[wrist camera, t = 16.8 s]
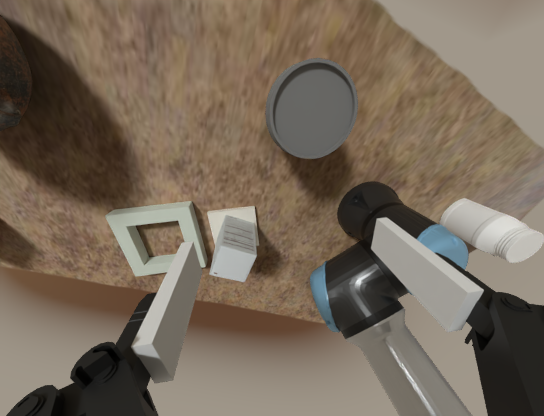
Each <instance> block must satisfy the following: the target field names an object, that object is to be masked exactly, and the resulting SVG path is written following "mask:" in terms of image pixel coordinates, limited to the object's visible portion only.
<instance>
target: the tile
mask: <svg viewBox="0 0 544 416" xmlns="http://www.w3.org/2000/svg"><path fill="white" fill-rule="evenodd" d="M207 214H208V218H209V222H210V226H211V230H212V235H213V239H214V243H215V246H216V242H217V237H218V234H219V231H220V228H221V226H222V223H223V220H224V218H225V215H229V216H233V217H236V218H239V219H243V220H246V221H249V222H252V223H254V227H255V238H256V246H259V239H258V231H257V223H256V214H255V206H249V207H241V208H232V209H223V210H214V211H208V213H207Z"/></svg>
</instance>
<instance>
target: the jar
mask: <svg viewBox="0 0 544 416" xmlns="http://www.w3.org/2000/svg"><path fill="white" fill-rule="evenodd" d="M440 225H442V226H444V227H445V228H446V229H447V230H448V231H450V232H451V233H453V234H454V235H456V236H457V237H459V238H461V239H463V240H464V241H466V242H468V243H469V244H471V245H472V246H474V247H476V248H477V249H479V250H481V251H484V252H487V253H490V254H492V255H493V256H499V257H501V258H503V259H505V260H506V261H508V262H511V263H516V262H520V261H523V260H525V259H527V258H529V257H531V256H532V255H533V254H535V253H536V252H537V251H538V250H539V249H540V247H541V246H542V244H543V242H544V235H543V234H542V233H540V232H538V231H535V230H533V229H530V228H528V226H527V224H525V223H523V222H520V221H518V220H517V219H516V218H513V217H511V216H509V215H506V214H504V213H500V212H498V211H495V210H493V209H490V208H488V207H485V206H483V205H480V204H478V203H475V202H473V201H470V200H468V199H466V198H463V199H460V200H458V201H456V202H454V203H453V204H452V205H450V206H449V207H448V208H447V209H446V210H445V212H444V213H443V215H442V217H441V219H440Z"/></svg>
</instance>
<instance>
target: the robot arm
mask: <svg viewBox="0 0 544 416" xmlns="http://www.w3.org/2000/svg"><path fill="white" fill-rule="evenodd" d="M337 216H338V221H339V224H340V225H341V227H342V228H343V229H344V230H345V231H346V232H347V233H348V234H349V235H351V236H353V237H355V238H357V239H359V240H361V241H359V242H358V243H356V244H355V245H353V246H351V247H350V248H348V249H346V250H345V251H343V252H342V253H340V254H338V255H337V256H335V257H334V258H332V259H330V260H329V261H325V262H324V264H323V265H321V266H320V267H318V268H317V269H315V270H314V271H313V272H312V274H311V277H310V285H311V290H312V294H313V297H314V300H315V303H316V305H317V308H318V310H319V312H320V314H321V316H322V318H323V320H325V322H326V325H327V326H328V328H329V329H330V330H331V331H333V332H340V331H341V332H342V334H343V336H344V337H345V339H346V341H347V342H350V343H352V344H354V345H356V346H358V347H359V348H361V350H362V352H363V354H364V355H365V357H366V359H367V360H368V362H369V364H370V366H371V367H372V369H373V371H374V373H375V374H376V376H377V378H378V380H379V381H380V383H381V385H382V386H383V388H384V390H385V392H386V393H387V395H388V397H389V399H390V400H391V402H392V404H393V405H394V407H395V409H396V411H397V412H398V414H399V416H472V415H471V413H470V412H469V411H468V409H467V408H466V406H465V405H464V404H463V402H462V401H461V400H460V398H459V397H458V396H457V394H456V393H455V392H454V390H453V389H452V387H451V386H450V385H449V383H448V382H447V381H446V379H445V378H444V377H443V376H442V374H441V373H440V371H439V370H438V369H437V367H436V366H435V364H434V363H433V362H432V360H431V359H430V358H429V356H428V355H427V354H426V352H425V351H424V350H423V348H422V347H421V345H420V344H419V343H418V341H417V340H416V339H415V338H414V336H413V335H412V333H411V332H410V331H409V329H408V328H407V327H406V325H405V321H404V319H405V309H404V307H403V306H402V305H401V304H400V302H399V301H398V298H399V297H401V296H403V295H405V294H407V293H410V294H411V295H413V296H415V298H416V299H417V300H418V301H419V302H420V303H421V304H422V305H423V306H424V307H425V309H426V310H427V311H428V312H429V313H430V314H431V315H432V316H433V317H434V318H435V319H436V321H437V322H438V323H439V324H440V325H441V326H442V327H443V328H444V329H445V330H446V331H447V332H452V331H457V330H462V328H463V326H464V325H465V323H466V322H467V323H468V324H469V325H470V326H471V327H472V329H471V331H470V332H469V334H468V336H467V337H466V339H465V343H466V344H468V343H469V342H470V340H471V339H472V342H473V345H472V346H473V347H474V351H475V357H476V361H477V366H478V371H479V375H480V380H481V385H482V389H483V394H484V399H485V404H486V409H487V413H488V416H544V306H542V305H534V304H529V303H527V302H526V301H524V300H522V299H520V298H518V297H517V296H514V295H511V294H508V293H503V292H495V291H494V290H492V289H491V288H489V287H488V286H487V285H485V284H484V283H483V282H481V281H480V280H478V279H477V278H476V277H474V276H473V275H471V274H470V273H469V272H467V271H465V268H466V266H467V263H468V249H467V247H466V245H465V243H464V242H463V241H462V240H461V239H460V238H459V237H457V236H456V235H454V234H453V233H451V232H450V231H448V230H447V229H446V228H445V227H444V226H442V225H440V224H437V223H435V222H434V221H432V220H430V219H428V218H427V217H425V216H423V215H421V214H420V213H418V212H416V211H414V210H413V209H411V208H409V207H407V206H406V205H404V204H403V202H402V201H401V200H400V199H399V198H398V196H397V194H396V193H395V191H394V190H393V189H392V188H390V187H389V186H387V185H385V184H383V183H380V182H366V183H362V184H360V185H358V186H356V187H354V188H353V189H351V190H350V191H349V192H348V193H347V194H346V195H345V196H344V198H343V199H342V201H341V203H340V205H339V208H338V213H337ZM201 275H202V269H201V266H200V262H199V259H198V256H197V252H196V249H195V246H194V242H185V243H181V245H180V247H179V249H178V252H177V254H176V256H175V258H174V260H173V262H172V264H171V266H170V268H169V270H168V272H167V274H166V276H165V278H164V280H163V282H162V284H161V286H160V288H159V290H158V292H157V293H151V294H147V295H146V296H145V297H144V298H143V299H142V300H141V301H140V303H139V304H138V306H137V307H136V309H135V311H134V314H133V315H132V316H131V318H130V320H129V323H128V324H127V325H126V327H125V329H124V331H123V333H122V334H121V336H120V338H119V340H118V341H117V343H116V345H115V344H114V343H113V342H105V343H101V344H99V345H97V346H95V347H93V348H91V349H90V350H89V351H88V352H86V353H85V354H84V355H83V356H82V357H81V358H80V359H79V360H78V361H77V362H76V364H75V366H74V368H73V369H72V371H71V377H70V378H71V379H72V380H73V381H74V382H75V383H73V384H70V385H69V386H66V387H64V388H62V389H60V390H58V389H56V388H55V387H54V386H53V385H45V386H43V387H40V388H38V389H36V390H34V391H33V392H31V393H30V394H28V395H27V396H25V397H24V398H23V399H22V400H21V401H20V402H18V403H17V404H16V405H15V406H14V407H13V409H12V410H11V411H10V412H9V413H8V414H7V415H6V416H158V414H157V411H156V408H155V406H154V404H153V401H152V398H151V396H150V393H149V391H148V389H147V385H148V383H149V380H150V377H151V378H152V380H153V381H154V383H160V382H167V381H172V380H173V378H174V375H175V371H176V367H177V364H178V360H179V356H180V352H181V349H182V345H183V341H184V338H185V334H186V330H187V327H188V323H189V319H190V315H191V312H192V308H193V305H194V301H195V297H196V294H197V290H198V286H199V283H200V279H201Z"/></svg>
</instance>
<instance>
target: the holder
mask: <svg viewBox="0 0 544 416" xmlns="http://www.w3.org/2000/svg"><path fill="white" fill-rule="evenodd" d="M105 217H106V219H107V221H108V223H109V225H110V227H111V229H112V231H113V233H114V235H115V237H116V239H117V241H118V243H119V245H120V247H121V248H122V250H123V252H124V254H125V256H126V258H127V260H128V262H129V264H130V266H131V268H132V270H133V272H134V274H135V276H143V275H150V274H158V273H165V272H168V270H169V268H170V266H171V264H172V262H173V260H174V258H175V256H176V254H171V255H163V256H156V257H149V255H148V253H147V251H146V248H145V246H144V244H143V242H142V239H141V237H140V235H139V232H138V230H137V228H136V226H135V225H143V224H152V223H161V222H169V221H178V222H179V225H180V228H181V231H182V234H183V237H184V240H185V242H194V246H195V249H196V252H197V256H198V259H199V262H200V266H201V268H202V267H206V264H207V260H208V258H207V254H206V251H205V247H204V243H203V240H202V236H201V232H200V229H199V225H198V222H197V218H196V214H195V211H194V207H193V203H192V201H188V202H179V203H170V204H161V205H152V206H142V207H133V208H124V209H115V210H113V211H111V212H110V213H108V214H107V215H106V216H105Z"/></svg>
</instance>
